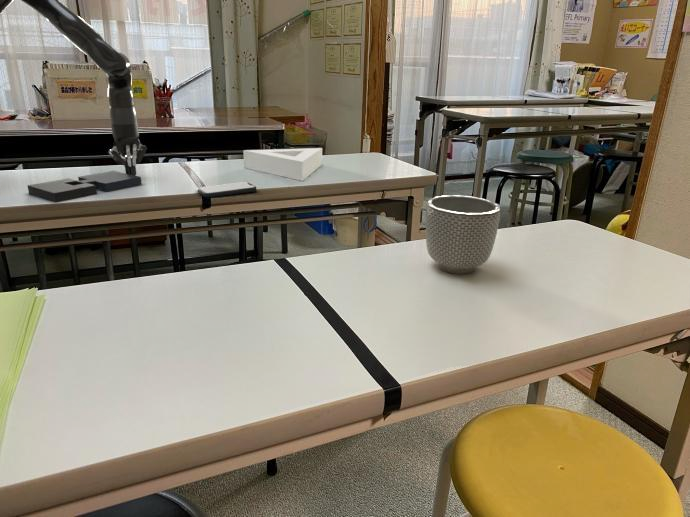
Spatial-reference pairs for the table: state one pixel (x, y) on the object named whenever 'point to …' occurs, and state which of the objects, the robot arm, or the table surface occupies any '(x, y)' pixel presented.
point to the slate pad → (110, 180)
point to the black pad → (61, 190)
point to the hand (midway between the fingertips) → (131, 177)
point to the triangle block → (284, 161)
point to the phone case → (226, 189)
